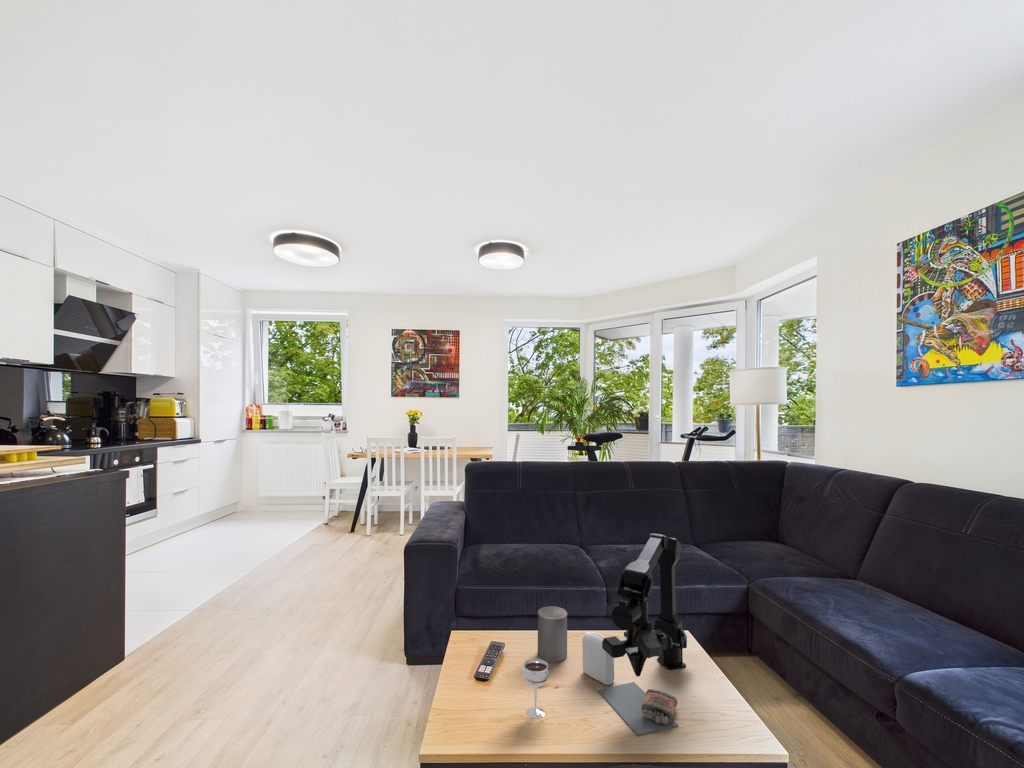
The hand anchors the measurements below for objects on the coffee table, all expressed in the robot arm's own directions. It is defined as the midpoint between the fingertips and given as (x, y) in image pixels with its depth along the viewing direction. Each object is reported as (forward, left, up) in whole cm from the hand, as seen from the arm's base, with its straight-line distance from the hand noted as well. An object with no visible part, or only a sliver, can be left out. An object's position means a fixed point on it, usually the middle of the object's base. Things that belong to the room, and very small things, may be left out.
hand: (637, 675), depth 126 cm
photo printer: (+3, -16, -8) cm, 18 cm away
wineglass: (+27, -6, -8) cm, 29 cm away
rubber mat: (+1, 0, -8) cm, 8 cm away
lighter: (-7, +1, -6) cm, 9 cm away
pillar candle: (+11, -32, -8) cm, 35 cm away
